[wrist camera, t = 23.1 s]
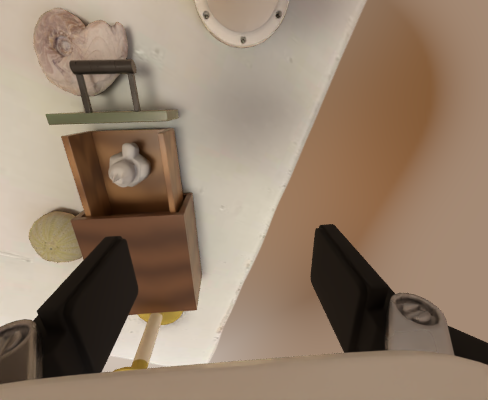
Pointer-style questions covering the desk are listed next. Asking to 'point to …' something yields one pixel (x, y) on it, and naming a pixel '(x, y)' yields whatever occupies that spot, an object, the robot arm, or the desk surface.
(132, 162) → the rubber duck
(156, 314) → the candle
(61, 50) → the fossil
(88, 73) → the drawer
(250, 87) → the desk surface
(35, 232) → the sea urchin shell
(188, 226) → the cabinet
